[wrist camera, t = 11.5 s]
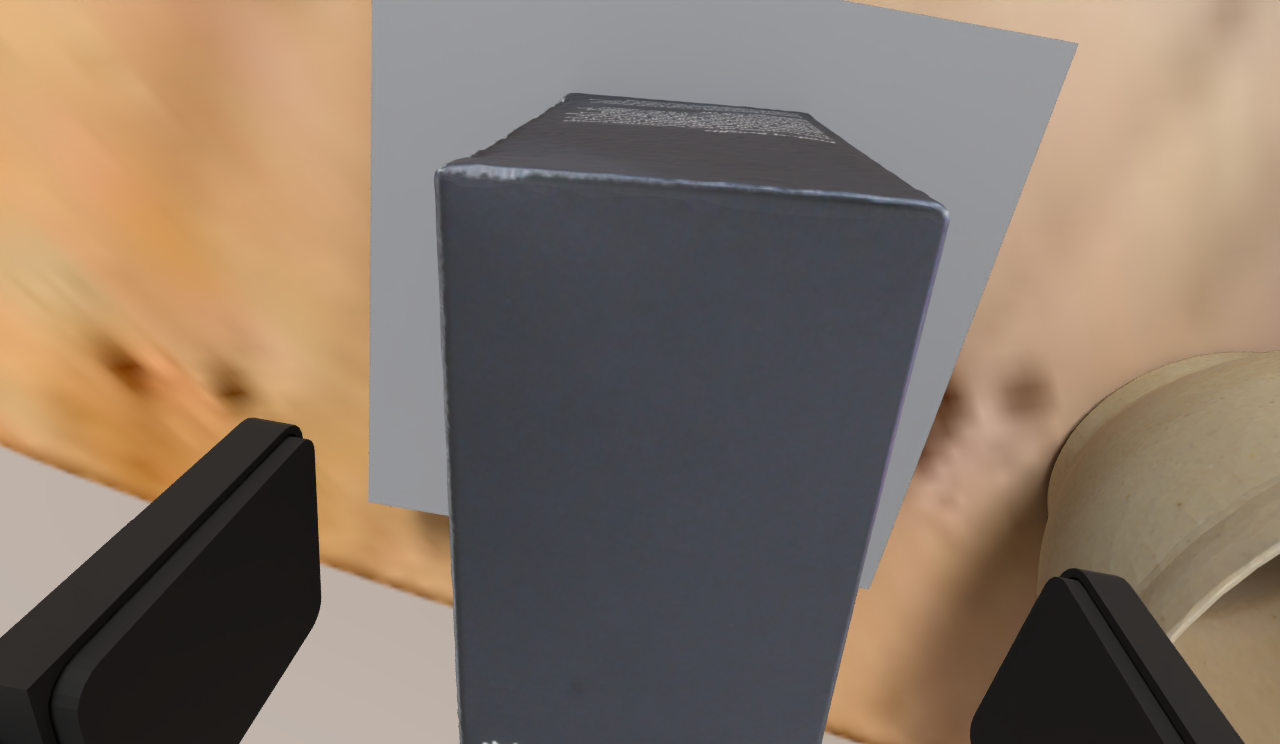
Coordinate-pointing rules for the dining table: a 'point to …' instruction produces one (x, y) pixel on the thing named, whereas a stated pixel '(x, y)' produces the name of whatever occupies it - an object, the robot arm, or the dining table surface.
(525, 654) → the small box
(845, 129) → the stand
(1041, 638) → the robot arm
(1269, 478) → the planter bowl
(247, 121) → the dining table surface
